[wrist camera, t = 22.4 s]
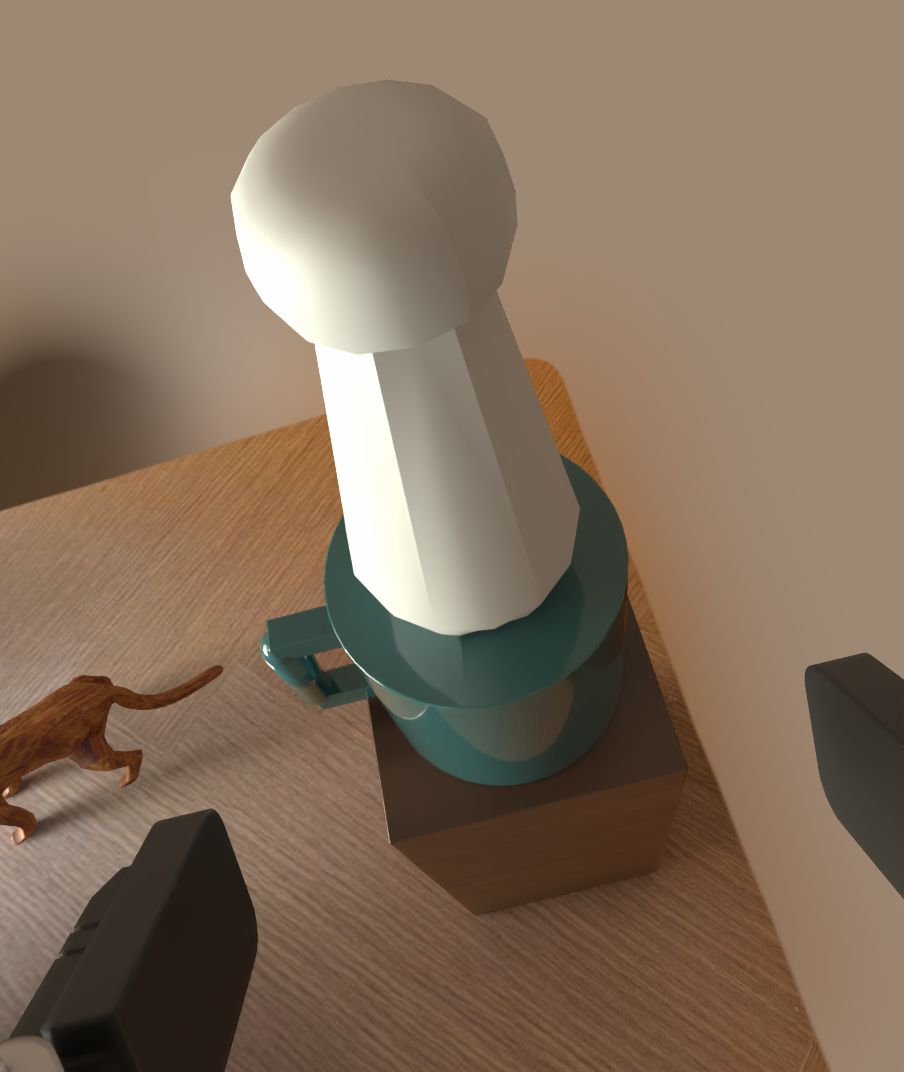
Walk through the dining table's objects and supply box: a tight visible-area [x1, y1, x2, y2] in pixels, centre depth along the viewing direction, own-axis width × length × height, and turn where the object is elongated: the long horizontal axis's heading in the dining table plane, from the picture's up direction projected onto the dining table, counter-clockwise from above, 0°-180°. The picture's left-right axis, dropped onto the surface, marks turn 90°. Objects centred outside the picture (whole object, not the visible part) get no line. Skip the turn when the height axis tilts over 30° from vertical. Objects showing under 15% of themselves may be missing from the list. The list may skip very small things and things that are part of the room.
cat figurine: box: [0, 665, 223, 845], centre depth 48 cm, size 18×7×14 cm, turn 123°
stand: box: [367, 594, 688, 916], centre depth 39 cm, size 10×10×21 cm
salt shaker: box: [231, 80, 580, 636], centre depth 18 cm, size 6×6×13 cm
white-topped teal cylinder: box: [260, 454, 629, 786], centre depth 27 cm, size 11×8×8 cm
